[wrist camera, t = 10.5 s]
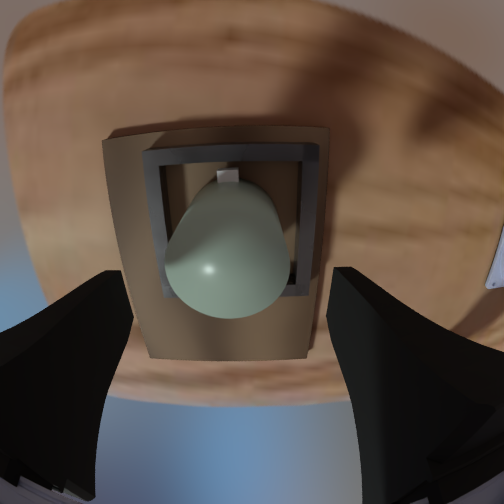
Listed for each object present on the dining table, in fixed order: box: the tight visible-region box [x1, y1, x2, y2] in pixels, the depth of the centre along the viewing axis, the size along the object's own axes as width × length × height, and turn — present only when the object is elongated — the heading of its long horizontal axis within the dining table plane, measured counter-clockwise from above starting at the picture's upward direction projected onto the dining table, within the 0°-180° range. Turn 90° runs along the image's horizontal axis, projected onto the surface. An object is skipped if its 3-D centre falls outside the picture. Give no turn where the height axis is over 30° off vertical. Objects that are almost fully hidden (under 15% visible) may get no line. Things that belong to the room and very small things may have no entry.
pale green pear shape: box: [165, 167, 290, 319], centre depth 13 cm, size 6×5×5 cm
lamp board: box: [102, 126, 330, 361], centre depth 17 cm, size 12×16×1 cm
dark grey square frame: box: [142, 142, 320, 298], centre depth 15 cm, size 8×8×1 cm
